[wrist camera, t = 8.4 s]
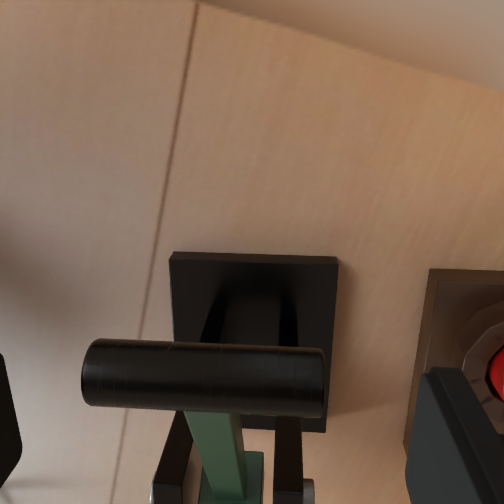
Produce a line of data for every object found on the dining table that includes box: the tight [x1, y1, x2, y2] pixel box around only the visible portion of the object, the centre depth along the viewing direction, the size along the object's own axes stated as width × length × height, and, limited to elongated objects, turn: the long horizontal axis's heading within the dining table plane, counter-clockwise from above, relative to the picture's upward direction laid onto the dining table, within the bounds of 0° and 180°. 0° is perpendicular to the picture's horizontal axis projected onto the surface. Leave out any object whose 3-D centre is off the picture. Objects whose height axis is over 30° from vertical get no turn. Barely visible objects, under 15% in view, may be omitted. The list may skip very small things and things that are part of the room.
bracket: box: [150, 251, 339, 504], centre depth 22 cm, size 11×9×13 cm
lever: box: [81, 338, 325, 504], centre depth 14 cm, size 12×5×2 cm, turn 0°
